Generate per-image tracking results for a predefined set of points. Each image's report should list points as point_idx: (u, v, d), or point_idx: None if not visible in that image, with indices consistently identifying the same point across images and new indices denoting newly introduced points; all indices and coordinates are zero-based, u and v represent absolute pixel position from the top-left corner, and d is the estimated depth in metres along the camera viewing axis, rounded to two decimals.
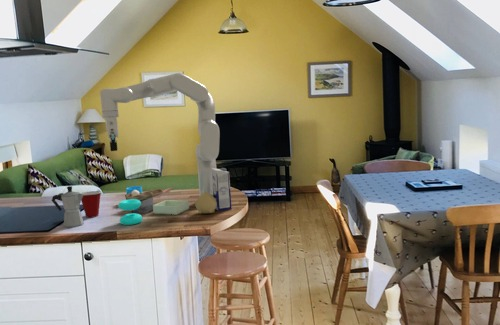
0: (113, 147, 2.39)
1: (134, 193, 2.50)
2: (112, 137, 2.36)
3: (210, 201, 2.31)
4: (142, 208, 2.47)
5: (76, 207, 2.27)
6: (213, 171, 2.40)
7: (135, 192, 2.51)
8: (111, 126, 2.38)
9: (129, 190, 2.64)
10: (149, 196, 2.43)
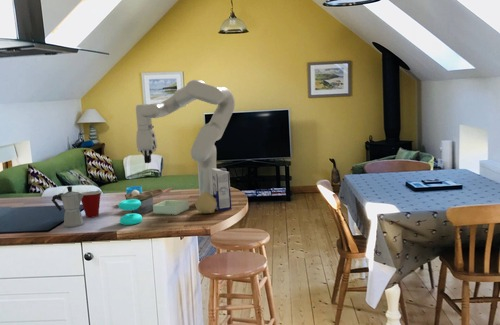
0: (150, 159, 2.65)
1: (134, 193, 2.50)
2: (152, 151, 2.63)
3: (210, 201, 2.31)
4: (142, 208, 2.47)
5: (76, 207, 2.27)
6: (213, 171, 2.40)
7: (135, 192, 2.51)
8: (153, 138, 2.62)
9: (129, 190, 2.64)
10: (149, 196, 2.43)
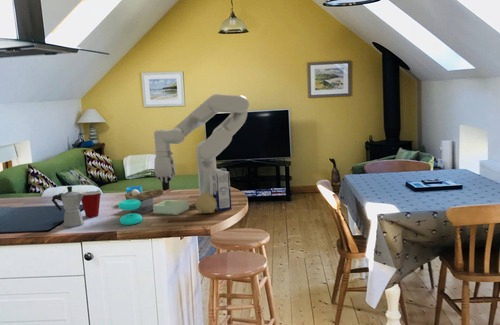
0: (168, 186, 2.56)
1: (134, 193, 2.50)
2: None
3: (210, 201, 2.31)
4: (142, 208, 2.47)
5: (76, 207, 2.27)
6: (213, 171, 2.40)
7: (135, 192, 2.51)
8: (172, 165, 2.53)
9: (129, 190, 2.64)
10: (149, 197, 2.43)
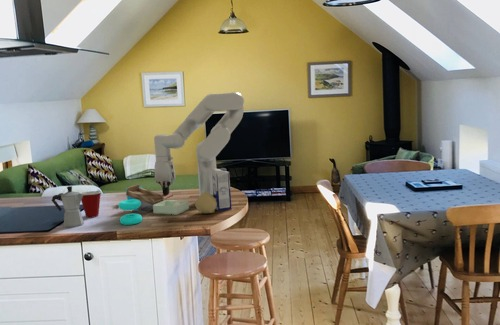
0: (168, 191, 2.56)
1: None
2: (171, 183, 2.55)
3: (210, 201, 2.31)
4: (142, 208, 2.47)
5: (76, 207, 2.27)
6: (213, 171, 2.40)
7: None
8: (172, 169, 2.53)
9: None
10: (150, 202, 2.44)
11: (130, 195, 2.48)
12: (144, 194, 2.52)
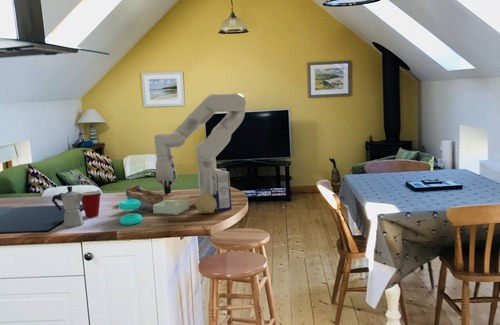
0: (169, 190, 2.56)
1: None
2: (172, 182, 2.55)
3: (210, 201, 2.31)
4: (142, 208, 2.47)
5: (76, 207, 2.27)
6: (213, 171, 2.40)
7: None
8: (173, 168, 2.53)
9: None
10: (150, 202, 2.44)
11: (130, 195, 2.48)
12: (144, 194, 2.52)
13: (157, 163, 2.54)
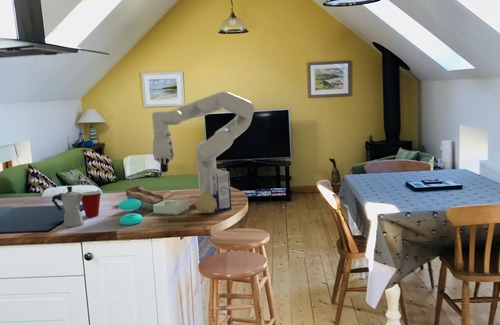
0: (166, 168, 2.55)
1: None
2: (170, 160, 2.53)
3: (210, 201, 2.31)
4: (142, 208, 2.47)
5: (76, 207, 2.27)
6: (213, 171, 2.40)
7: None
8: (170, 146, 2.52)
9: None
10: (150, 202, 2.44)
11: (130, 195, 2.48)
12: (144, 194, 2.52)
13: (154, 141, 2.53)
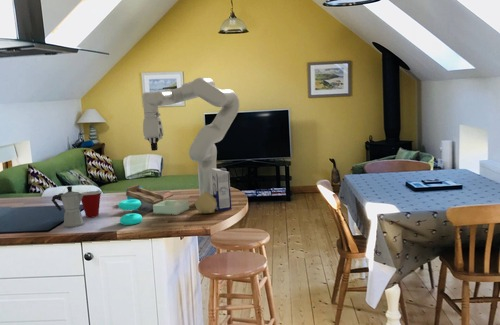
0: (156, 147, 2.67)
1: None
2: (159, 139, 2.65)
3: (210, 201, 2.31)
4: (142, 208, 2.47)
5: (76, 207, 2.27)
6: (213, 171, 2.40)
7: None
8: (160, 125, 2.63)
9: None
10: (150, 202, 2.44)
11: (130, 195, 2.48)
12: (144, 194, 2.52)
13: (144, 120, 2.64)
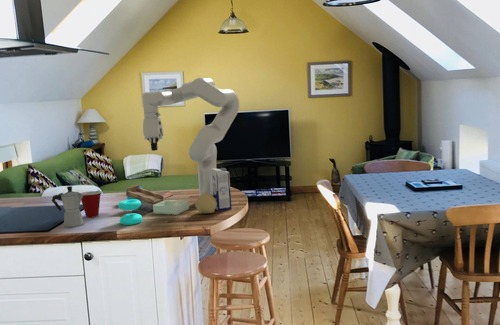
0: (156, 147, 2.67)
1: None
2: (159, 139, 2.65)
3: (210, 201, 2.31)
4: (142, 208, 2.47)
5: (76, 207, 2.27)
6: (213, 171, 2.40)
7: None
8: (160, 125, 2.63)
9: None
10: (150, 202, 2.44)
11: (130, 195, 2.48)
12: (144, 194, 2.52)
13: (144, 120, 2.64)
